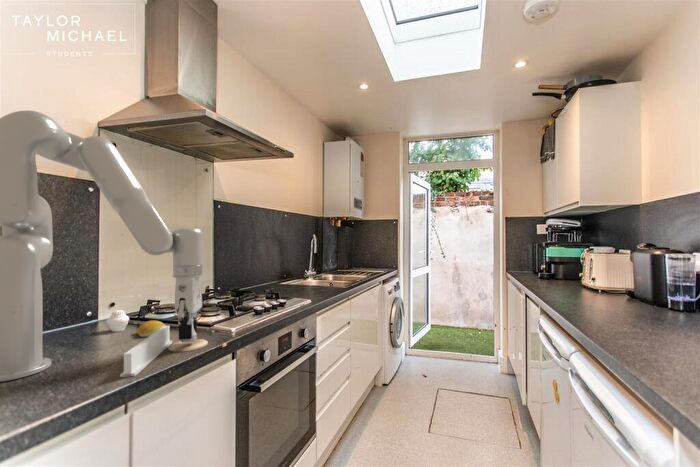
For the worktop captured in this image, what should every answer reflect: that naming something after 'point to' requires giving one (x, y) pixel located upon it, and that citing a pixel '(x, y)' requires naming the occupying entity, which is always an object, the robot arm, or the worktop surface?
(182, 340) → the rook chess piece
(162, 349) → the divider wall
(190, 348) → the cork coaster
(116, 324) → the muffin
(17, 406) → the worktop surface
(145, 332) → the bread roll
